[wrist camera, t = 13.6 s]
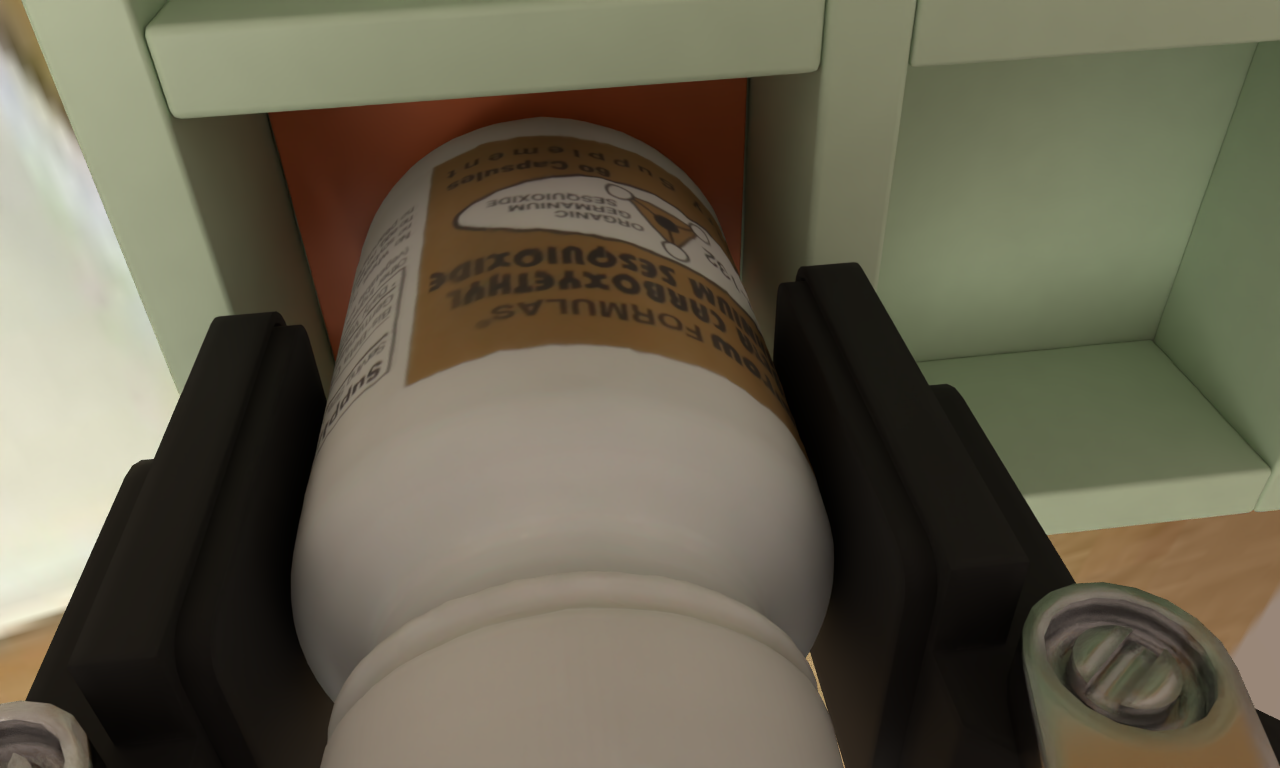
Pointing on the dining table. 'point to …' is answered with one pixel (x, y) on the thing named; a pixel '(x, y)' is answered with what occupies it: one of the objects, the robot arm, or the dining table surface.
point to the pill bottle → (559, 479)
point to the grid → (770, 186)
